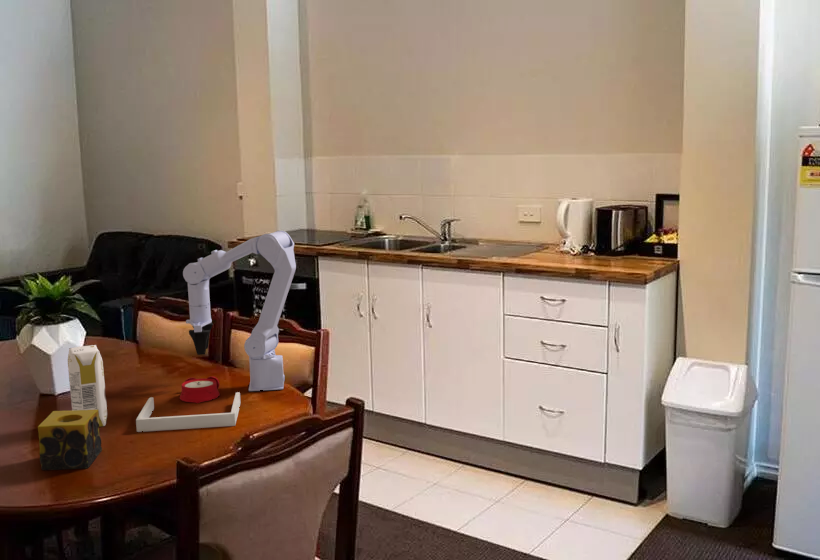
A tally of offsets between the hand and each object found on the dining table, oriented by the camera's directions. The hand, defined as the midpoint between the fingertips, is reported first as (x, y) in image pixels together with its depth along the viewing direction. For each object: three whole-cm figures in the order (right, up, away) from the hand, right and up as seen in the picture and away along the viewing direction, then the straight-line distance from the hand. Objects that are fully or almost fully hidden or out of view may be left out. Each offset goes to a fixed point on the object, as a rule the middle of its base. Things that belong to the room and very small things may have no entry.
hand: (202, 351), depth 228 cm
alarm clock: (+2, -12, -9) cm, 15 cm away
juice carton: (-20, -15, -31) cm, 40 cm away
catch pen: (+4, -14, -27) cm, 30 cm away
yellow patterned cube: (-14, -19, -54) cm, 59 cm away
